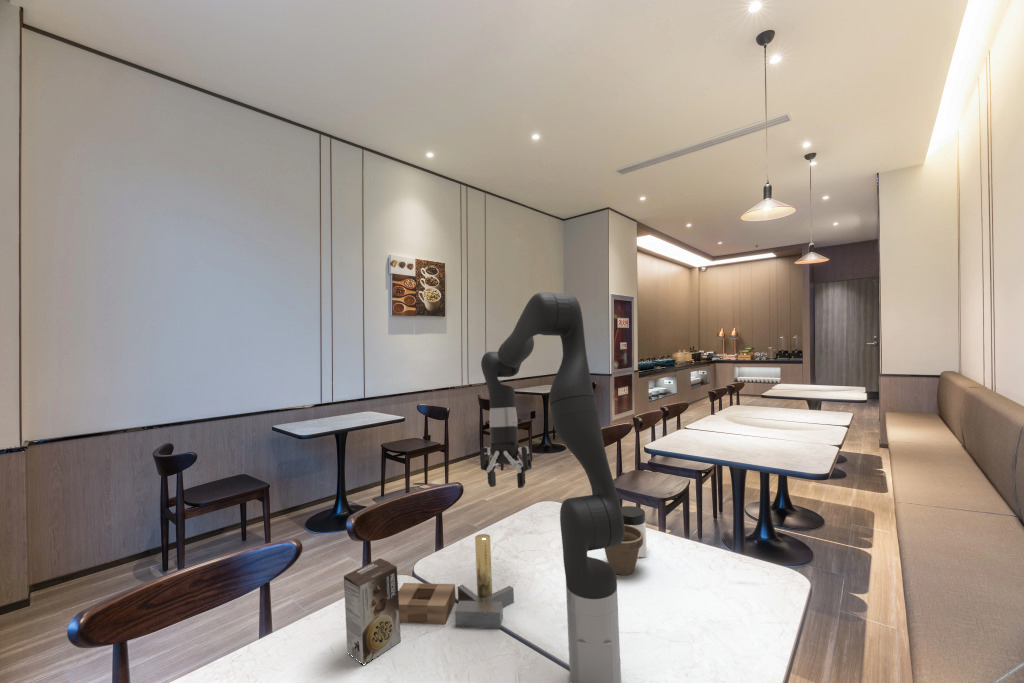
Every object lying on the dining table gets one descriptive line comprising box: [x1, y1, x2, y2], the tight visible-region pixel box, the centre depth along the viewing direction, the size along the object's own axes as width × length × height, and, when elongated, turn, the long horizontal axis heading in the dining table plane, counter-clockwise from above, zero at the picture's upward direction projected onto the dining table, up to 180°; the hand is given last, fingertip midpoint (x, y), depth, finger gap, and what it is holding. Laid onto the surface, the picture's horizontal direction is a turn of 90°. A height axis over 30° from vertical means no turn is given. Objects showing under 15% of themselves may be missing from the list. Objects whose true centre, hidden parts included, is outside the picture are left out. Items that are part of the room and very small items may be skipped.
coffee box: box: [343, 558, 402, 664], centre depth 92 cm, size 9×6×16 cm
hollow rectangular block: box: [398, 582, 457, 625], centre depth 104 cm, size 9×13×4 cm
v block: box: [454, 584, 515, 630], centre depth 103 cm, size 11×14×4 cm
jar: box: [621, 505, 648, 559], centre depth 129 cm, size 9×8×12 cm
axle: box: [474, 533, 493, 599], centre depth 106 cm, size 4×4×16 cm
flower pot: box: [603, 525, 643, 576], centre depth 119 cm, size 12×11×10 cm
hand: (506, 487), depth 117 cm, fingers open, 8 cm apart
